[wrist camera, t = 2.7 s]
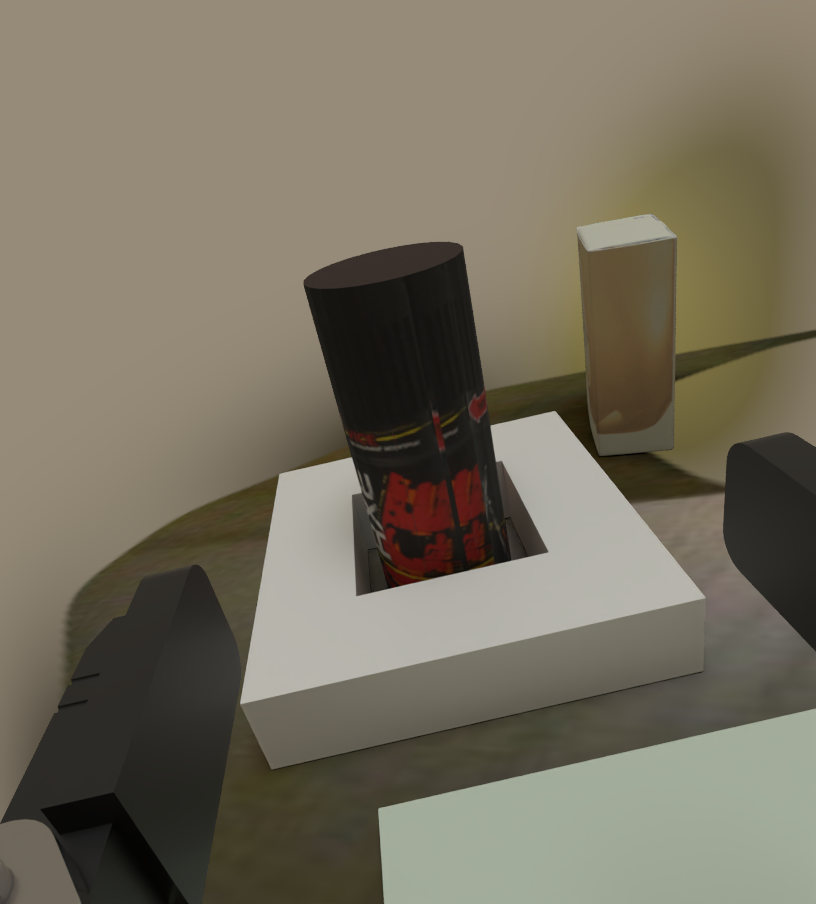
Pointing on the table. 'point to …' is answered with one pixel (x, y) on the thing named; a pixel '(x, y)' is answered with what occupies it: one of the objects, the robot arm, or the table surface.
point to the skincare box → (629, 332)
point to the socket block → (461, 609)
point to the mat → (623, 828)
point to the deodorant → (413, 407)
